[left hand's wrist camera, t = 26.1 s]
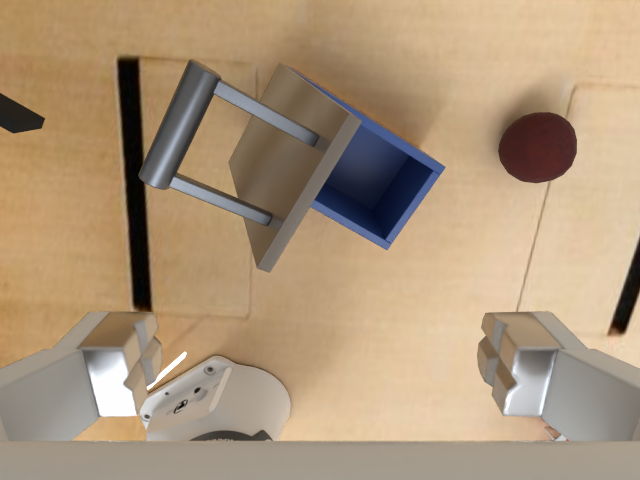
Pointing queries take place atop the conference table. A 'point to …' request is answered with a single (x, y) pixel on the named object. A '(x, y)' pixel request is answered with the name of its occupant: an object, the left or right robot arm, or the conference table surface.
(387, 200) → the chest
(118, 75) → the conference table surface
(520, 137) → the dark red ball
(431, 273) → the conference table surface
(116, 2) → the conference table surface
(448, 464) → the left robot arm
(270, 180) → the lid
